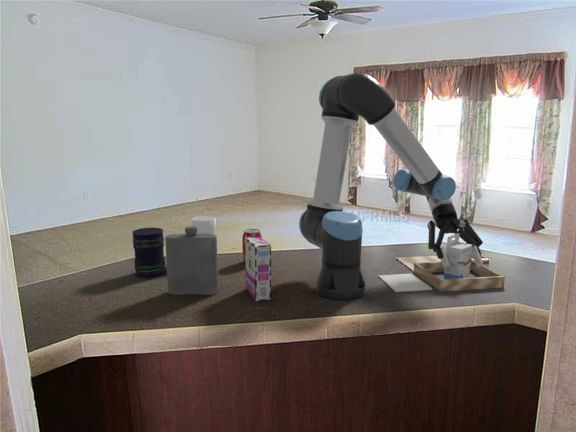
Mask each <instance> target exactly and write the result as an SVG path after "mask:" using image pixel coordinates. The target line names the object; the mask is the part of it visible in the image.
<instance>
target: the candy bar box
mask: <svg viewBox="0 0 576 432" xmlns="http://www.w3.org/2000/svg"><path fill="white" fill-rule="evenodd" d="M245 257H246V258H245V259H246V263H245V290H246V291H247V292H248V294H249V295H250V296H251V298H252V299H253V300H254V302H265V301H270V300H272V245H271V244H270V243H268V242H267V241H266V240H265V239H263V237H262V238H261V237H251V238H245Z"/></svg>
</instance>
